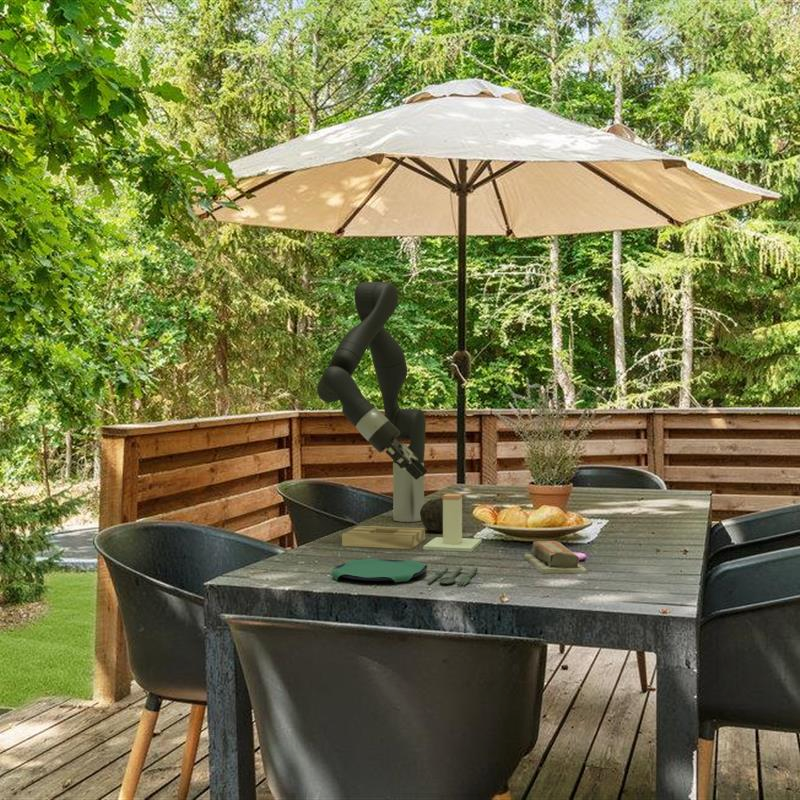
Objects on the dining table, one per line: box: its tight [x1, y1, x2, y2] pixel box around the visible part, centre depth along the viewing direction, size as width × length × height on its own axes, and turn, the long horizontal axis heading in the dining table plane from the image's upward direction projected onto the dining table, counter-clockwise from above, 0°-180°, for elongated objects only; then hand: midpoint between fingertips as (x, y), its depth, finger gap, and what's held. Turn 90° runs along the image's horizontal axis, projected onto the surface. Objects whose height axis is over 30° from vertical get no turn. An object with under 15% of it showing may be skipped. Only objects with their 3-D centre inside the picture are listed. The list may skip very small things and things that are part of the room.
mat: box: [422, 536, 482, 553], centre depth 231 cm, size 14×12×1 cm
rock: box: [420, 497, 443, 533], centre depth 254 cm, size 10×11×10 cm
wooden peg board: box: [341, 525, 426, 550], centre depth 236 cm, size 14×18×3 cm
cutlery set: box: [331, 558, 478, 586], centre depth 194 cm, size 20×30×2 cm, turn 73°
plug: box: [442, 493, 463, 545], centre depth 231 cm, size 5×4×12 cm
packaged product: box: [524, 540, 588, 575], centre depth 206 cm, size 18×5×10 cm
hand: (422, 475), depth 232 cm, fingers open, 8 cm apart
